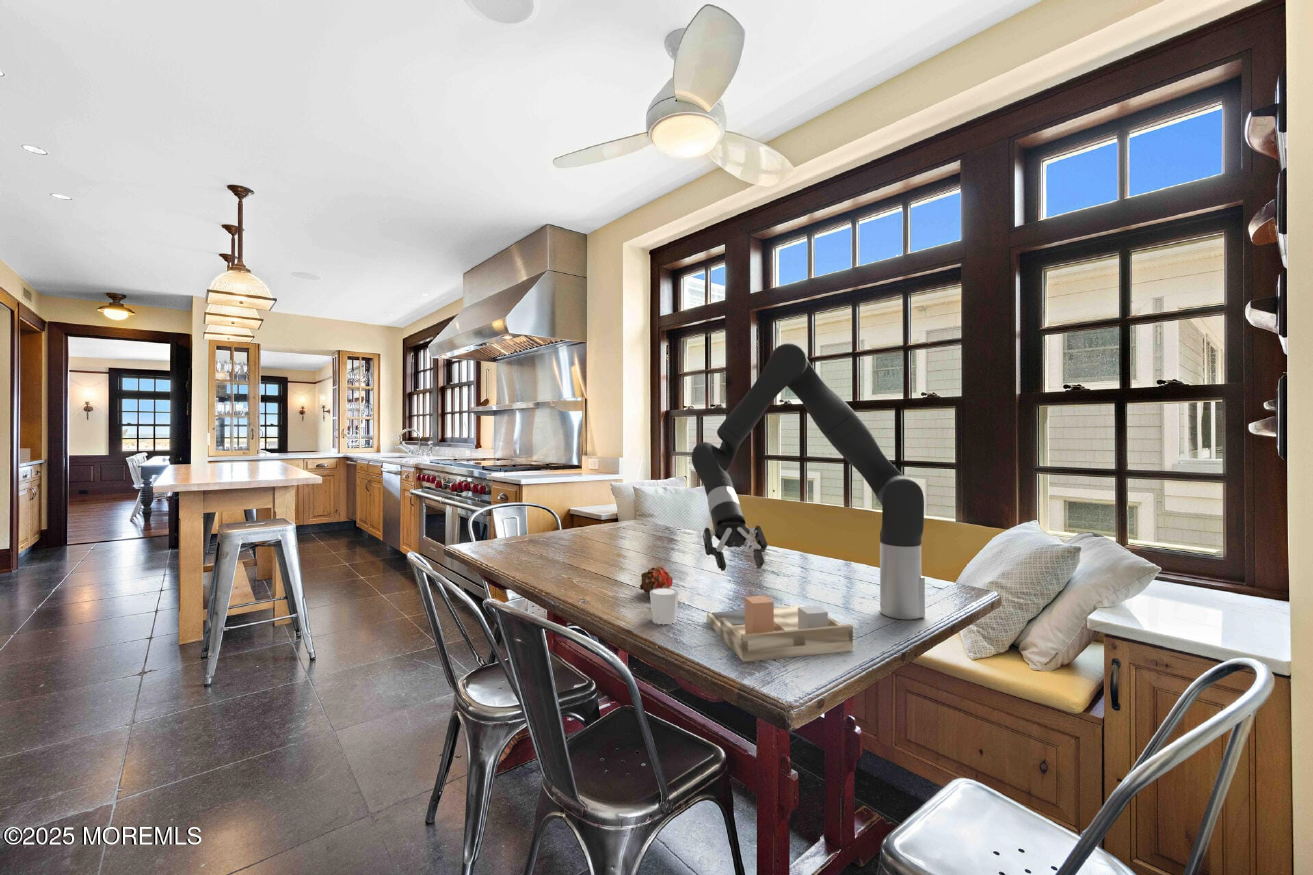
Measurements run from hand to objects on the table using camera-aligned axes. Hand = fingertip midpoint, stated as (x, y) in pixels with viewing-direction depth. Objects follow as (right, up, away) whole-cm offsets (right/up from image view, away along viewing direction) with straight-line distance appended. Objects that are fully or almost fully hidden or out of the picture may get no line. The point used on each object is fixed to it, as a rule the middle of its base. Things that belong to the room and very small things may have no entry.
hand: (742, 567), depth 128 cm
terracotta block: (+2, -12, -9) cm, 16 cm away
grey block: (+14, -12, -7) cm, 20 cm away
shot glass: (-17, -15, +8) cm, 24 cm away
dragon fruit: (-19, -14, +29) cm, 38 cm away
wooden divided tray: (+7, -14, -2) cm, 16 cm away
